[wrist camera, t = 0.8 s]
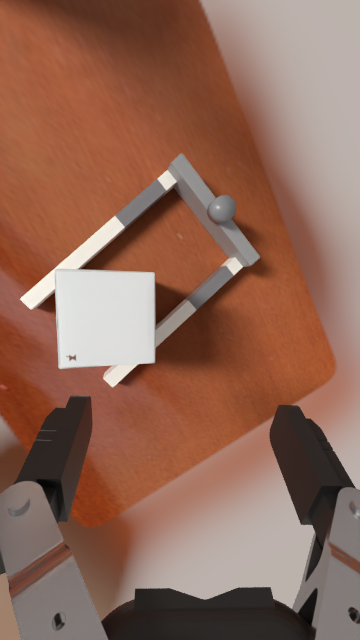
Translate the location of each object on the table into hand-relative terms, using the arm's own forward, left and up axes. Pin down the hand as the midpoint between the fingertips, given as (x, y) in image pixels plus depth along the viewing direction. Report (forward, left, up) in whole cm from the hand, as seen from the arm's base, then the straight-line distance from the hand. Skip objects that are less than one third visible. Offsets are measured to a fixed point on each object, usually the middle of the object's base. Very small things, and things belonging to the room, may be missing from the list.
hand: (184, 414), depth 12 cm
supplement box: (-4, -1, -23) cm, 24 cm away
